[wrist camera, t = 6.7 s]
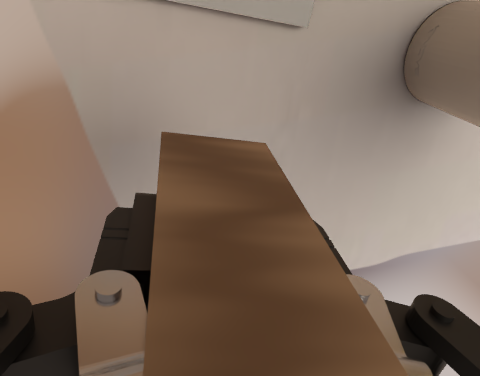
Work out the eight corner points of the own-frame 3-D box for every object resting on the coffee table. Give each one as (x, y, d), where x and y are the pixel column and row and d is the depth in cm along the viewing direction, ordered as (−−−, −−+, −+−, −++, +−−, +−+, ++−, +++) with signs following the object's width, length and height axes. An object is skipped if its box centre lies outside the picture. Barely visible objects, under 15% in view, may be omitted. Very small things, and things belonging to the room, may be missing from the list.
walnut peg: (265, 143, 14) (422, 400, 5) (246, 226, 15) (338, 518, 7) (161, 131, 13) (139, 423, 4) (154, 221, 15) (128, 553, 6)
